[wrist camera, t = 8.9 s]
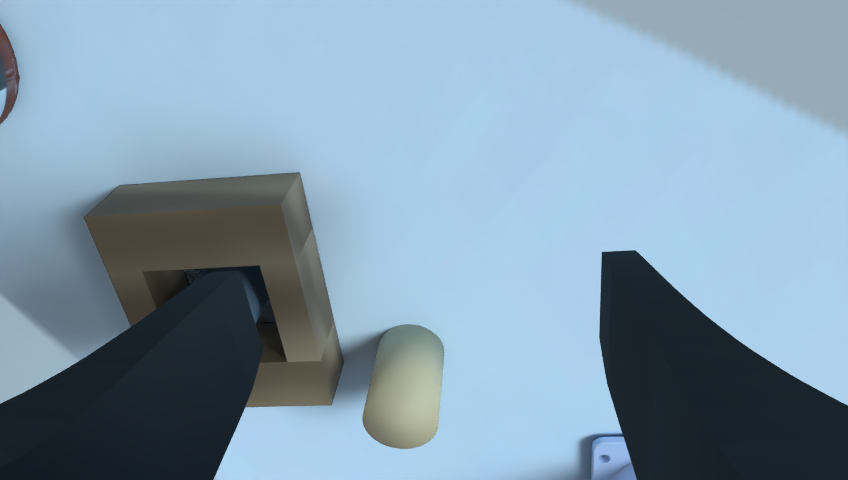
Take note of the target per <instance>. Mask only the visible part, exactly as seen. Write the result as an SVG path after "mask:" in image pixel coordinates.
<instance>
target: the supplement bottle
mask: <svg viewBox="0 0 848 480" xmlns="http://www.w3.org/2000/svg"><path fill="white" fill-rule="evenodd" d="M19 78H20V76H19V74H18V68H17V61H16V58H15V55H14V51H13V49H12V46H11V43H10V41H9V39H8V36H7V34H6V32H5V31H4V29H3V28H2V26H1V24H0V124H1V123H2V122H3V121H4V120H5V119H6V118H7V116H8V114H9V113H10V112H11V110H12V108H13V106H14V104H15V101H16V98H17V94H18V84H19Z"/></svg>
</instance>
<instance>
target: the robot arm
mask: <svg viewBox="0 0 848 480" xmlns="http://www.w3.org/2000/svg"><path fill="white" fill-rule="evenodd" d="M599 338H600V344H601V350H602V356H603V362H604V368H605V374H606V379H607V384H608V387H609V391H610V394H611V398H612V401H613V404H614V407H615V411H616V414H617V417H618V421H619V424H620V427H621V430H622V434H623V437H599V438H597V439H595V440H594V441H593V443H592V461H591V480H848V406H847V405H845V404H843V403H841V402H839V401H838V400H836V399H834V398H832V397H830V396H828V395H826V394H825V393H823V392H821V391H819V390H817V389H815V388H813V387H811V386H810V385H808V384H806V383H804V382H802V381H801V380H799V379H797V378H795V377H794V376H792V375H790V374H789V373H787V372H785V371H783V370H782V369H780V368H779V367H777V366H776V365H774V364H773V363H771V362H769V361H768V360H766V359H765V358H763V357H762V356H760V355H759V354H757V353H755V352H754V351H752V350H751V349H749V348H748V347H747V346H745V345H744V344H742V343H741V342H739V341H738V340H737V339H735V338H734V337H733V336H731V335H730V334H729V333H727V332H726V331H725V330H724V329H722V328H721V327H720V326H718V325H717V324H716V323H714V322H713V321H712V320H711V319H709V318H708V317H707V316H706V315H704V314H703V313H702V312H701V311H700V310H699V309H698V308H696V307H695V306H694V305H693V304H692V303H691V302H690V301H688V300H687V299H686V298H685V297H684V296H683V295H682V294H681V293H679V292H678V291H677V290H676V289H675V288H674V287H673V286H672V285H671V284H670V283H669V282H668V281H667V280H666V279H665V278H664V277H663V276H661V275H660V274H659V273H658V272H657V271H656V270H655V269H654V268H653V267H652V266H651V265H650V264H649V263H648V262H647V261H646V260H645V259H644V258H643V257H642V256H641V255H640V254H639V253H638V252H637V251H635V250H634V251H614V252H602V268H601V301H600V335H599ZM262 352H263V347H262V344H261V340H260V337H259V334H258V331H257V328H256V324H255V321H254V318H253V315H252V311H251V308H250V305H249V302H248V298H247V295H246V292H245V289H244V285H243V282H242V279H241V276H240V272H239V271H226V272H210V273H209V274H207V275H205V276H203V277H202V278H200V279H199V280H197V281H196V282H194V283H193V284H191V285H190V286H188V287H187V288H185V289H184V290H182V291H181V292H180V293H178V294H177V295H175V296H174V297H173V298H171V299H170V300H168V301H167V302H166V303H164V304H163V305H161V306H160V307H159V308H157V309H156V310H154V311H153V312H152V313H150V314H149V315H147V316H146V317H145V318H143V319H142V320H140V321H139V322H138V323H136V324H135V325H133V326H132V327H130V328H129V329H128V330H126V331H124V332H123V333H121V334H120V335H118V336H117V337H115V338H114V339H112V340H111V341H109V342H108V343H106V344H105V345H103V346H102V347H100V348H99V349H97V350H96V351H94V352H93V353H91V354H90V355H88V356H87V357H85V358H84V359H82V360H80V361H79V362H77V363H75V364H74V365H72V366H70V367H69V368H67V369H65V370H64V371H62V372H60V373H58V374H57V375H55V376H53V377H51V378H49V379H48V380H46V381H44V382H42V383H41V384H39V385H37V386H35V387H33V388H31V389H30V390H28V391H26V392H24V393H22V394H20V395H18V396H16V397H14V398H11V399H9V400H7V401H5V402H3V403H1V404H0V480H213V479H214V477H215V475H216V472H217V470H218V468H219V466H220V463H221V461H222V459H223V457H224V454H225V452H226V450H227V447H228V445H229V443H230V441H231V438H232V436H233V434H234V432H235V429H236V427H237V425H238V423H239V420H240V418H241V416H242V413H243V411H244V409H245V406H246V404H247V402H248V399H249V397H250V394H251V392H252V389H253V385H254V382H255V378H256V375H257V371H258V367H259V363H260V359H261V356H262ZM601 455H605V456H601Z"/></svg>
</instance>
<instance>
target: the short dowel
mask: <svg viewBox="0 0 848 480" xmlns="http://www.w3.org/2000/svg"><path fill="white" fill-rule="evenodd" d="M443 362H444V347H443V344H442V342H441V340H440V339H439V338H438V336H437V335H436V334H434V333H433V332H432V331H430V330H429V329H426V328H424V327H421V326H417V325H400V326H396V327H394V328H391V329H390V330H388V331H387V332H386V333H384V335H383V336H382V337H381V339H380V341H379V345H378V349H377V354H376V358H375V363H374V367H373V372H372V376H371V381H370V385H369V390H368V394H367V399H366V403H365V408H364V412H363V425H364V427H365V429H366V431H367V432H368V434H369V435H370V436H371V437H372V438H374V439H375V440H376V441H378V442H380V443H381V444H384V445H386V446H389V447H393V448H399V449H409V448H415V447H419V446H422V445H424V444H426V443H427V442H429V441H430V440H431V439H432V438H433V437H434V436H435V434H436V432H437V429H438V421H439V409H440V397H441V385H442V374H443Z"/></svg>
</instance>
